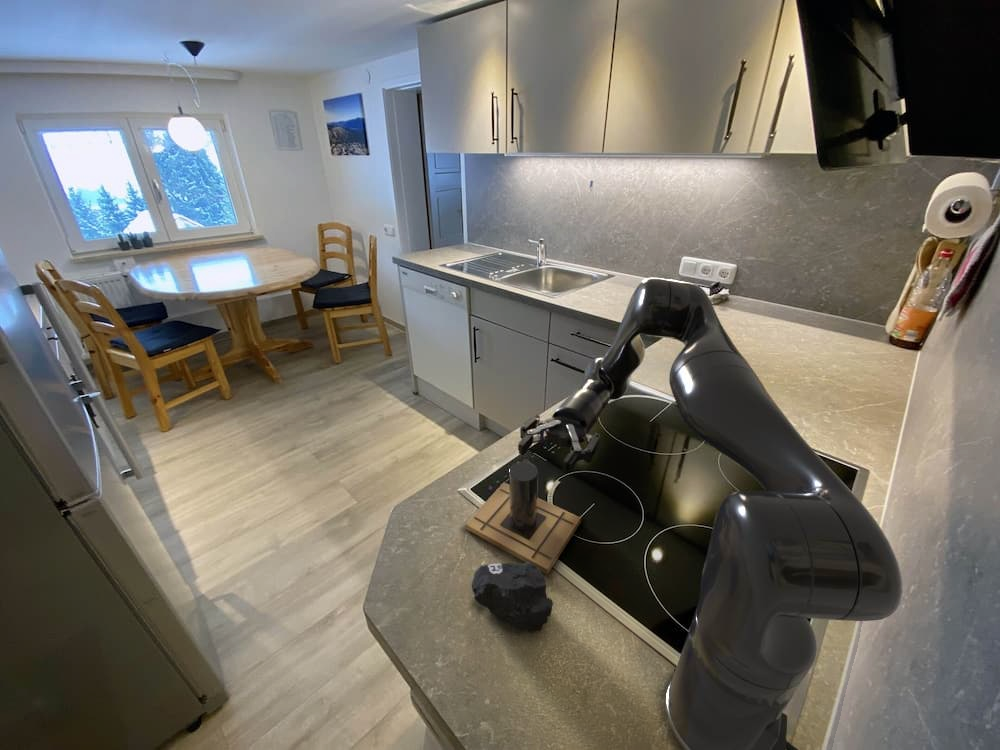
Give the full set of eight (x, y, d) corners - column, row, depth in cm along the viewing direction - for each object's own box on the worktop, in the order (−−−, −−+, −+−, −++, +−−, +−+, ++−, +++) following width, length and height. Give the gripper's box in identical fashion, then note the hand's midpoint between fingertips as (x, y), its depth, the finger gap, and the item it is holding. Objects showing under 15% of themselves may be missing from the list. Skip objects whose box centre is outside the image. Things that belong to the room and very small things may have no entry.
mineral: (478, 646, 54) (476, 619, 52) (471, 584, 62) (469, 558, 60) (553, 632, 56) (555, 605, 53) (537, 573, 64) (538, 547, 61)
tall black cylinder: (541, 516, 72) (543, 468, 66) (527, 534, 68) (528, 485, 63) (519, 505, 74) (519, 457, 69) (504, 522, 71) (503, 473, 65)
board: (580, 522, 72) (581, 517, 71) (547, 574, 63) (547, 569, 63) (504, 486, 80) (503, 481, 79) (465, 528, 71) (464, 523, 71)
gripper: (547, 388, 86) (506, 429, 74) (614, 407, 79) (581, 456, 67) (546, 418, 89) (507, 461, 77) (610, 439, 82) (578, 490, 71)
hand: (541, 459), depth 72 cm, fingers open, 8 cm apart
